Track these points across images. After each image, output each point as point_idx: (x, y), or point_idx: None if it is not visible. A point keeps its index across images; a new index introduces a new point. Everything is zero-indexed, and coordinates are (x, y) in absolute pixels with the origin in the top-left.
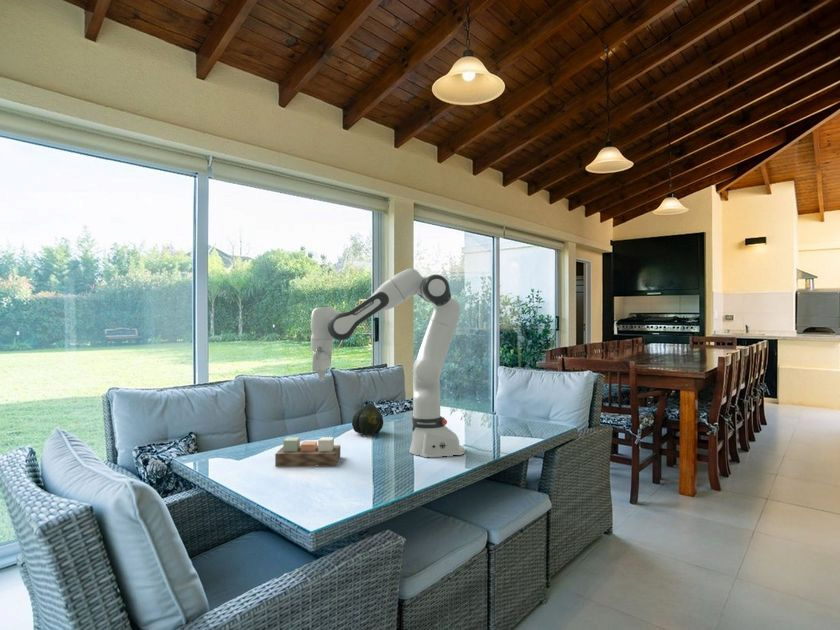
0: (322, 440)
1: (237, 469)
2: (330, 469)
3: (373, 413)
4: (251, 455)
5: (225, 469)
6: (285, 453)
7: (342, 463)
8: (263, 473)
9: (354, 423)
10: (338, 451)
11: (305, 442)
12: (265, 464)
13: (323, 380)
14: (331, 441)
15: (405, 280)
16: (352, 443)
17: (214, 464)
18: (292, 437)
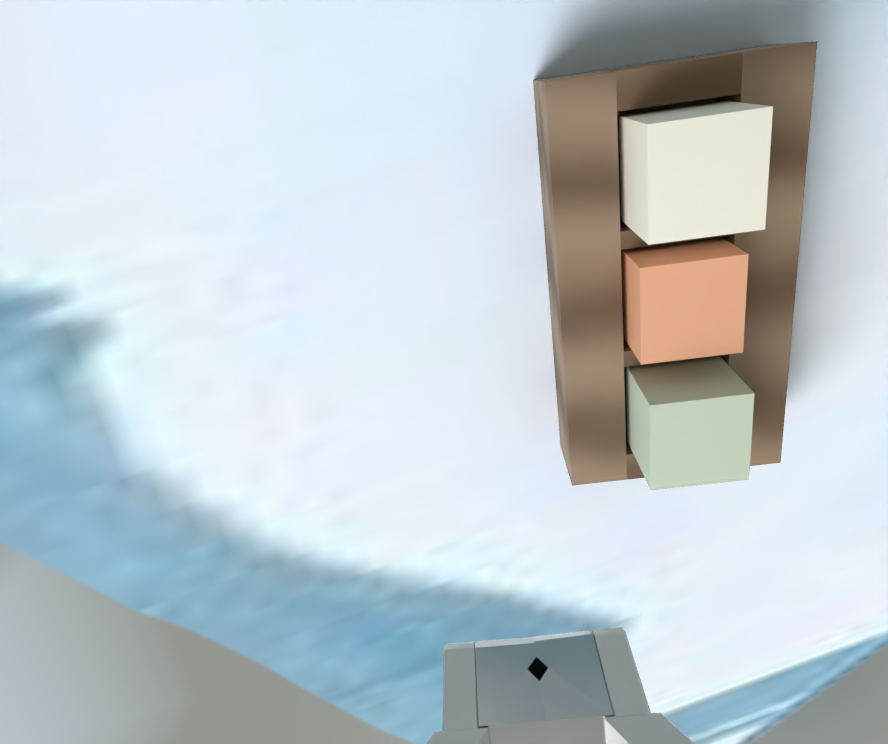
0: (767, 192)
1: (789, 569)
2: (854, 56)
3: None
4: (533, 606)
5: (784, 614)
6: (777, 408)
7: (708, 7)
8: (880, 432)
9: None
10: (650, 65)
11: (675, 341)
12: (707, 484)
13: (613, 634)
14: (769, 107)
15: None
16: (123, 98)
17: (696, 684)
18: (653, 453)
